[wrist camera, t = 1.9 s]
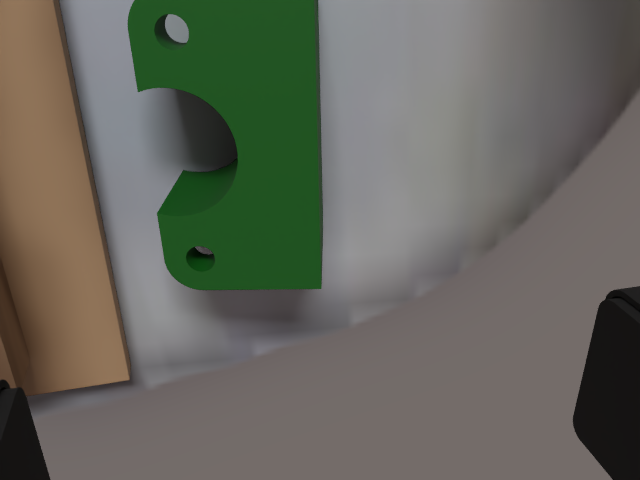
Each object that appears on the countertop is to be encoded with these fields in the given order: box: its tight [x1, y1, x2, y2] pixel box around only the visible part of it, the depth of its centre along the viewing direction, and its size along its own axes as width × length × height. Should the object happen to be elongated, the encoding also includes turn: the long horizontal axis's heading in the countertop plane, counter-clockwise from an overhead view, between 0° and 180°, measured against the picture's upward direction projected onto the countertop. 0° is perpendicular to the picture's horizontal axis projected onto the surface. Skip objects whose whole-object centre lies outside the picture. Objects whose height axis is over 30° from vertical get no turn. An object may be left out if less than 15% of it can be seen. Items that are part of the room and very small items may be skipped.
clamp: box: [128, 0, 323, 290], centre depth 24 cm, size 12×6×9 cm, turn 175°
